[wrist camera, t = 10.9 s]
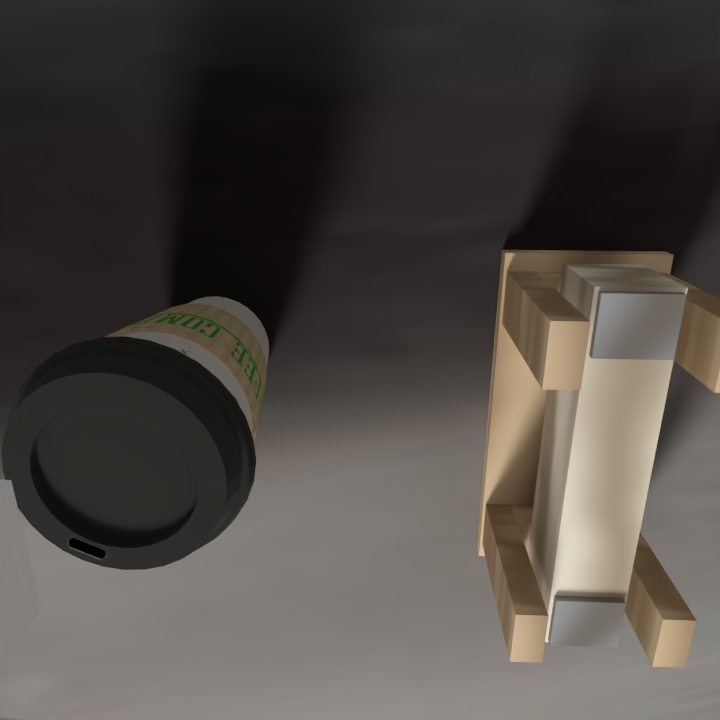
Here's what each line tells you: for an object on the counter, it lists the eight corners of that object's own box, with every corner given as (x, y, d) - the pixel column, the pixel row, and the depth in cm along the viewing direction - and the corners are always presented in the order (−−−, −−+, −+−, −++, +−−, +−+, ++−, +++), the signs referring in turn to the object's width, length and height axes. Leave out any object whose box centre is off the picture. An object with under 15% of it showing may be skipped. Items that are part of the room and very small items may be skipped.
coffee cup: (326, 310, 36) (286, 424, 22) (262, 443, 39) (192, 618, 25) (168, 236, 34) (19, 306, 20) (117, 379, 38) (-43, 525, 24)
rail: (524, 579, 38) (545, 647, 33) (562, 263, 31) (597, 288, 26) (588, 581, 38) (620, 650, 33) (642, 264, 31) (692, 290, 26)
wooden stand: (476, 546, 41) (505, 676, 31) (502, 249, 34) (549, 296, 24) (611, 549, 41) (684, 682, 31) (665, 251, 34) (781, 299, 24)
